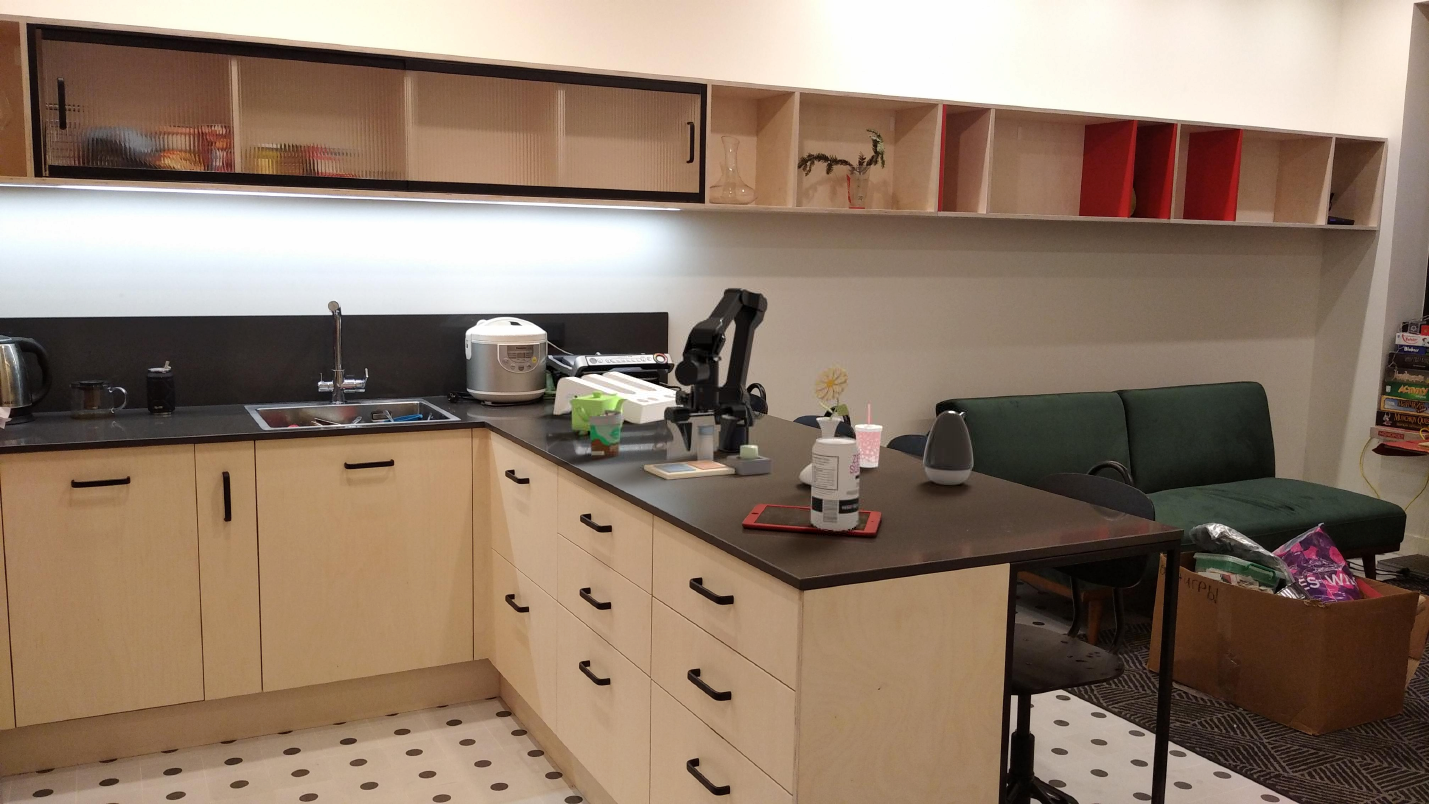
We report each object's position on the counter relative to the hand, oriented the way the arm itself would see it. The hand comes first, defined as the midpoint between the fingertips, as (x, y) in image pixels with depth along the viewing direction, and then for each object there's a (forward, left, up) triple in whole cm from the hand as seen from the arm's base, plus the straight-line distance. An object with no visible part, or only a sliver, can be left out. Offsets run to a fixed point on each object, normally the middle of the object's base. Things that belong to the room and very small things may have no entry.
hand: (705, 449), depth 248 cm
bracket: (-13, -80, -3) cm, 81 cm away
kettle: (+7, -48, -3) cm, 49 cm away
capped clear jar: (0, 0, -3) cm, 3 cm away
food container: (+17, -16, -3) cm, 24 cm away
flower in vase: (-10, +36, -3) cm, 37 cm away
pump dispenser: (-35, +43, -3) cm, 56 cm away
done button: (-3, +15, -1) cm, 15 cm away
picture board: (+9, +10, -3) cm, 14 cm away
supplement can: (+8, +65, -3) cm, 66 cm away
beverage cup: (-31, +20, -3) cm, 37 cm away
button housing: (-3, +15, -3) cm, 16 cm away
